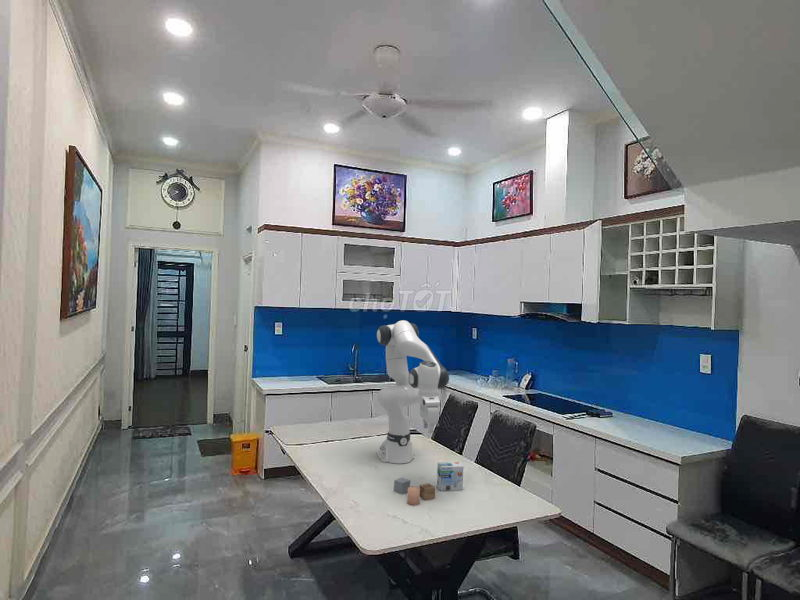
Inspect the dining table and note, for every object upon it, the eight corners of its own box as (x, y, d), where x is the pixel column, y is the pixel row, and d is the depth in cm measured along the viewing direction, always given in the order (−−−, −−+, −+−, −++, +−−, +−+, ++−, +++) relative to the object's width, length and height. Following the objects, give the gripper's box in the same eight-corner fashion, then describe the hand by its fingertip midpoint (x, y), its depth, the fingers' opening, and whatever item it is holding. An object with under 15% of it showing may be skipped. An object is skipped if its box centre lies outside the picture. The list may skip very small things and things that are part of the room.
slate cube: (393, 491, 223) (394, 479, 223) (401, 488, 226) (402, 477, 226) (402, 494, 219) (402, 483, 219) (409, 491, 223) (410, 480, 223)
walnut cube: (418, 496, 218) (419, 484, 218) (429, 494, 220) (429, 483, 220) (424, 500, 213) (424, 488, 213) (434, 499, 215) (435, 487, 215)
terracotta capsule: (405, 501, 212) (405, 487, 212) (415, 499, 214) (416, 485, 214) (410, 506, 207) (411, 491, 207) (421, 504, 209) (421, 489, 209)
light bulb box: (440, 491, 224) (441, 467, 224) (436, 485, 231) (436, 462, 231) (463, 490, 226) (464, 466, 226) (458, 484, 233) (459, 461, 233)
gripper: (416, 395, 231) (416, 425, 231) (426, 403, 211) (426, 436, 211) (430, 395, 232) (429, 425, 232) (441, 402, 212) (441, 436, 212)
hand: (428, 430), depth 221 cm, fingers open, 8 cm apart
